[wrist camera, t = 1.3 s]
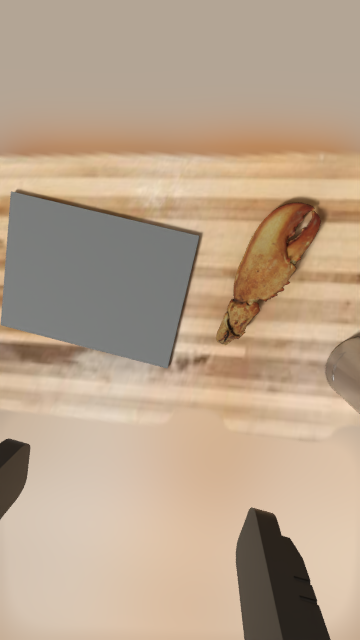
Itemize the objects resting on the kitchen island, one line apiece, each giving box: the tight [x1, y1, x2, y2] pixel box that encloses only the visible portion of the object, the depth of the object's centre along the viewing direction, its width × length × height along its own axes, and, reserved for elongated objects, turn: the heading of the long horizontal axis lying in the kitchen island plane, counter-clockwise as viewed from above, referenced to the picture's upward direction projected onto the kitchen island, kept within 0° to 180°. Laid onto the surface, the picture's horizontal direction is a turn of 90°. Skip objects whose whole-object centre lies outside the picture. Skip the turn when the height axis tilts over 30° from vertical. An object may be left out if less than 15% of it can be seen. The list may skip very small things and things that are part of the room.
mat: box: [1, 192, 199, 368], centre depth 35 cm, size 26×19×1 cm
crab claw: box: [216, 203, 321, 345], centre depth 32 cm, size 7×5×20 cm
